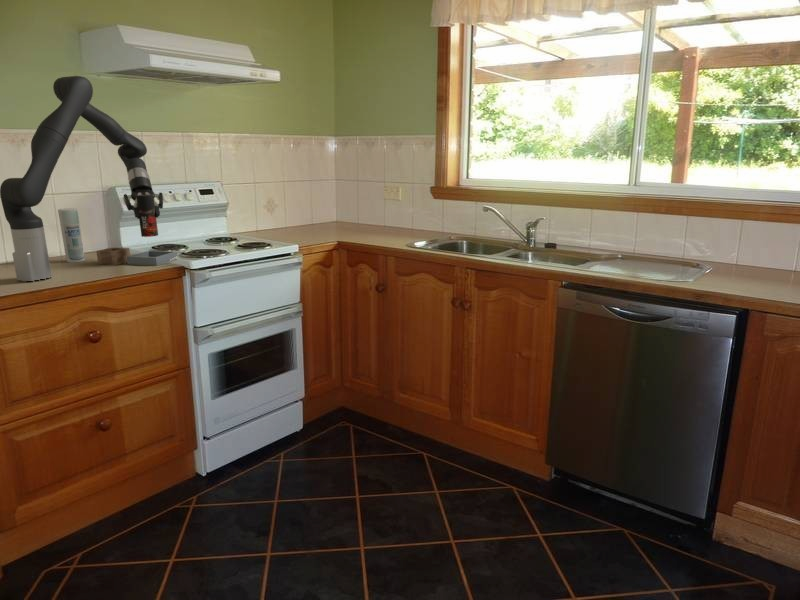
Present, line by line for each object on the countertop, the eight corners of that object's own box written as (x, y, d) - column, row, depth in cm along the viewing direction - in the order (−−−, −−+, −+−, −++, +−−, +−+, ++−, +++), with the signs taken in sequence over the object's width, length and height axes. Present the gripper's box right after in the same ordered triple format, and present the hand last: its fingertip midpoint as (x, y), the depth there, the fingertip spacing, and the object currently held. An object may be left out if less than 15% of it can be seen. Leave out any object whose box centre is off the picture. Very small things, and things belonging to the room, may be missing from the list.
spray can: (81, 258, 233) (73, 207, 228) (88, 260, 229) (80, 208, 223) (63, 261, 228) (55, 209, 223) (70, 263, 224) (61, 210, 219)
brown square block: (116, 264, 219) (114, 251, 218) (98, 264, 221) (96, 250, 220) (130, 260, 226) (129, 247, 225) (113, 260, 228) (111, 247, 227)
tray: (156, 265, 216) (155, 257, 216) (127, 264, 220) (126, 256, 219) (177, 259, 228) (176, 251, 227) (149, 258, 231) (148, 250, 231)
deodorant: (140, 237, 218) (135, 196, 214) (142, 234, 223) (137, 194, 220) (157, 236, 220) (152, 195, 216) (159, 233, 225) (154, 194, 221)
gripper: (119, 176, 219) (126, 211, 212) (160, 175, 225) (168, 208, 219) (119, 190, 224) (127, 224, 218) (159, 188, 231) (168, 221, 225)
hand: (148, 216), depth 218 cm, fingers closed on deodorant, 6 cm apart
